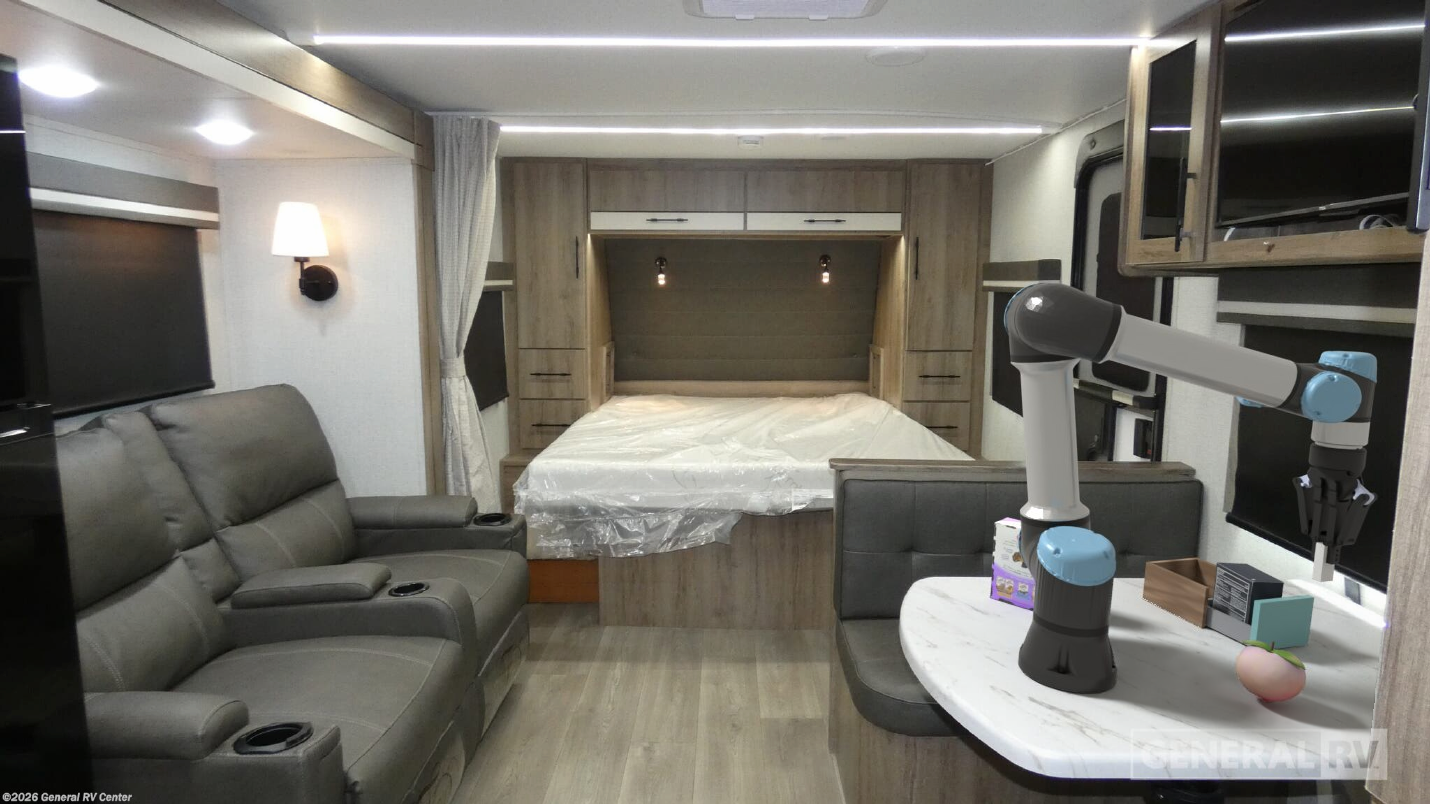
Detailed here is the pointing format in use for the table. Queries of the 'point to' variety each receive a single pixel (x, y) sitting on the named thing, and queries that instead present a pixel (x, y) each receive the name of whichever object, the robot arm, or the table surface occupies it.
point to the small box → (1242, 589)
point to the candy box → (1010, 567)
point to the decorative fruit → (1270, 672)
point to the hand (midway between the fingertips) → (1322, 579)
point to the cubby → (1181, 587)
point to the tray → (1268, 622)
